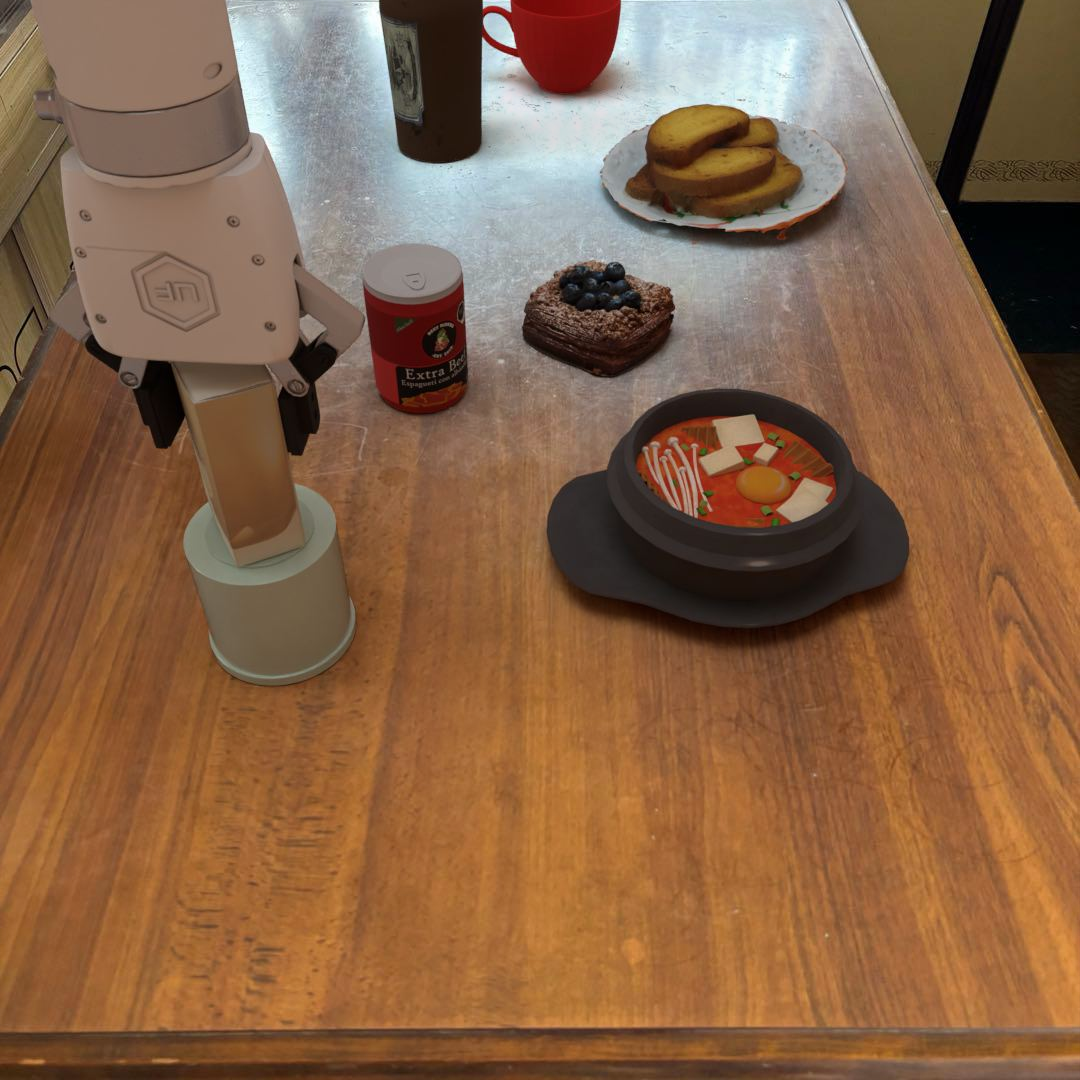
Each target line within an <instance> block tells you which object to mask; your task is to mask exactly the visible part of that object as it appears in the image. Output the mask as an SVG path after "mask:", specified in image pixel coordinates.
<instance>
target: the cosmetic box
mask: <svg viewBox="0 0 1080 1080" xmlns="http://www.w3.org/2000/svg"><path fill="white" fill-rule="evenodd" d="M169 363H171V367H172V370H173V374H174V378H175V381H176V385H177V388H178V392H179V396H180V399H181V403H182V406H183V410H184V414H185V421H186V424H187V429H188V432H189V435H190V439H191V443H192V446H193V450H194V453H195V457H196V461H197V464H198V469H199V472H200V476H201V479H202V484H203V487H204V491H205V494H206V498H207V502H209V505H210V508H211V511H212V513H213V516H214V519H215V521H216V524H217V526H218V529H219V531H220V533H221V536H222V538H223V540H224V542H225V544H226V546H227V548H228V550H229V552H230V554H231V556H232V558H233V560H234V562H235V564H236V566H237V567H242V566H245V565H248V564H251V563H254V562H257V561H261V560H264V559H267V558H270V557H273V556H276V555H279V554H282V553H285V552H288V551H291V550H294V549H297V548H300V547H303V546H305V544H306V540H305V535H304V530H303V525H302V520H301V515H300V509H299V504H298V499H297V494H296V489H295V484H296V483H295V480H294V474H293V470H292V469H293V468H292V465H291V458H290V453H288V451H287V446H286V441H285V436H284V431H283V426H282V421H281V416H280V410H279V405H278V393H277V388H276V383H275V379H274V378H273V376H272V374H271V371H270V369H269V367H268V366H267V365H245V364H219V363H197V362H176V361H169ZM294 483H295V484H294Z"/></svg>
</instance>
